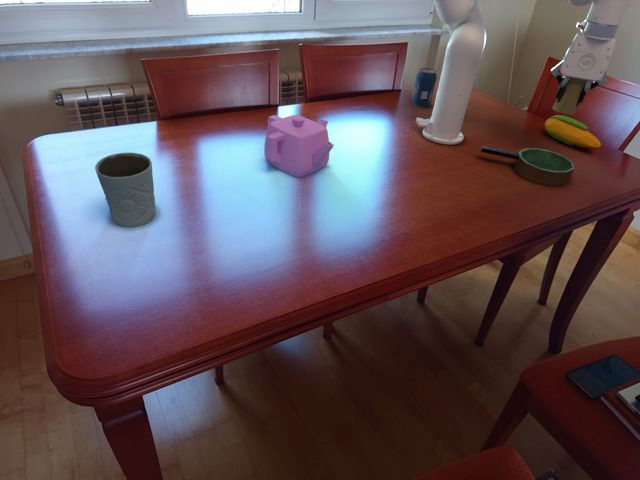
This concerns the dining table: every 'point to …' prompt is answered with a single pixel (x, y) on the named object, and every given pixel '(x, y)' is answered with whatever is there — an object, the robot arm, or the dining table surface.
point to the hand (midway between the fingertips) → (567, 102)
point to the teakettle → (297, 144)
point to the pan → (538, 165)
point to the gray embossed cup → (128, 188)
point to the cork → (570, 96)
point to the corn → (571, 132)
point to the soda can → (424, 87)
